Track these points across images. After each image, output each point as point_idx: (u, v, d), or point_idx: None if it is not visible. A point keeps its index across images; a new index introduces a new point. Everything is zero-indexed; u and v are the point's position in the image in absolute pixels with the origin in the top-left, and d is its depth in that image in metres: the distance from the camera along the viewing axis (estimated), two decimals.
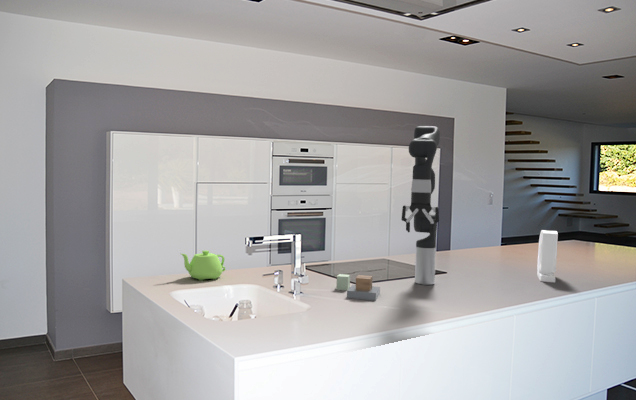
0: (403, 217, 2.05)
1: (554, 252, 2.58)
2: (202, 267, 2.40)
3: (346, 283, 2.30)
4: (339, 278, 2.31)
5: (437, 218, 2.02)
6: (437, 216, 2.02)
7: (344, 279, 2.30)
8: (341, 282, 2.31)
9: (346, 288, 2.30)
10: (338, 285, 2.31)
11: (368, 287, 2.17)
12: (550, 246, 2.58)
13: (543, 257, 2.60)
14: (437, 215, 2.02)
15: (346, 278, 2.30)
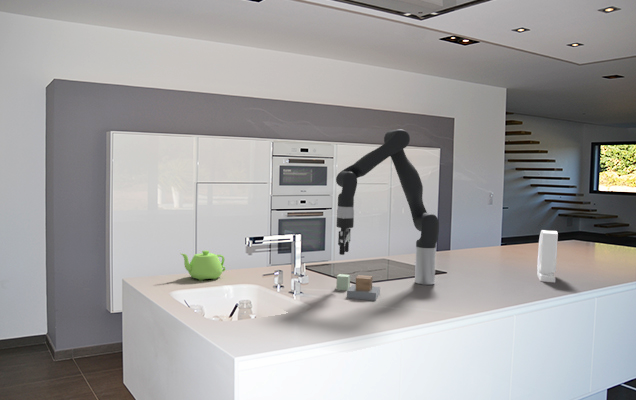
0: (344, 242, 2.25)
1: (554, 252, 2.58)
2: (202, 267, 2.40)
3: (346, 283, 2.30)
4: (339, 278, 2.31)
5: None
6: None
7: (344, 279, 2.30)
8: (341, 282, 2.31)
9: (346, 288, 2.30)
10: (338, 285, 2.31)
11: (368, 287, 2.17)
12: (550, 246, 2.58)
13: (543, 257, 2.60)
14: None
15: (346, 278, 2.30)
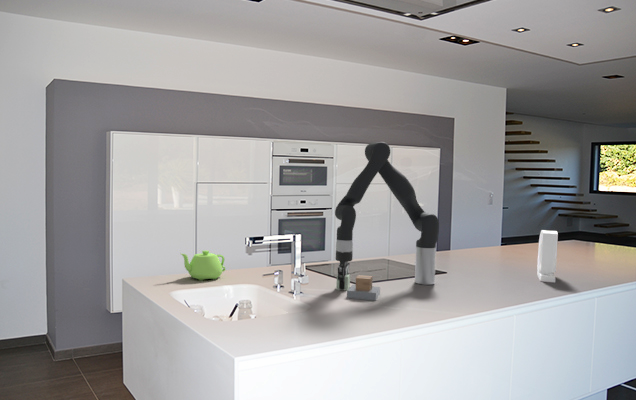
0: (343, 277, 2.28)
1: (554, 252, 2.58)
2: (202, 267, 2.40)
3: (346, 283, 2.30)
4: None
5: (348, 272, 2.38)
6: None
7: None
8: None
9: (346, 288, 2.30)
10: (338, 285, 2.31)
11: (368, 287, 2.17)
12: (550, 246, 2.58)
13: (543, 257, 2.60)
14: None
15: (346, 278, 2.30)
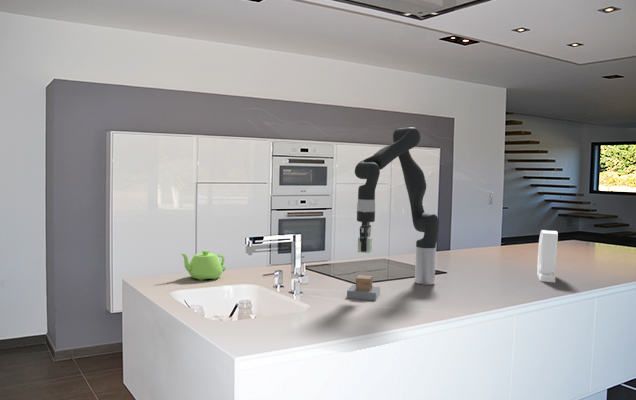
0: (365, 238, 2.14)
1: (554, 252, 2.58)
2: (202, 267, 2.40)
3: (368, 245, 2.17)
4: None
5: None
6: (370, 233, 2.24)
7: None
8: None
9: (368, 250, 2.17)
10: (359, 247, 2.18)
11: (368, 287, 2.17)
12: (550, 246, 2.58)
13: (543, 257, 2.59)
14: (370, 232, 2.24)
15: (368, 240, 2.17)
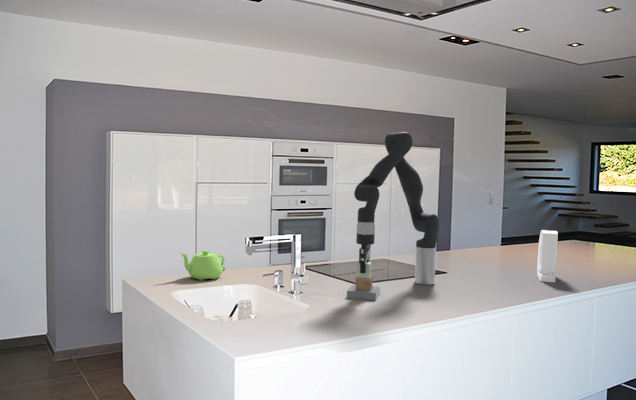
0: (365, 260, 2.14)
1: (554, 252, 2.58)
2: (202, 267, 2.40)
3: (368, 271, 2.17)
4: None
5: None
6: None
7: None
8: None
9: (368, 276, 2.17)
10: (359, 273, 2.18)
11: (368, 287, 2.17)
12: (550, 246, 2.58)
13: (543, 257, 2.59)
14: None
15: (368, 265, 2.17)
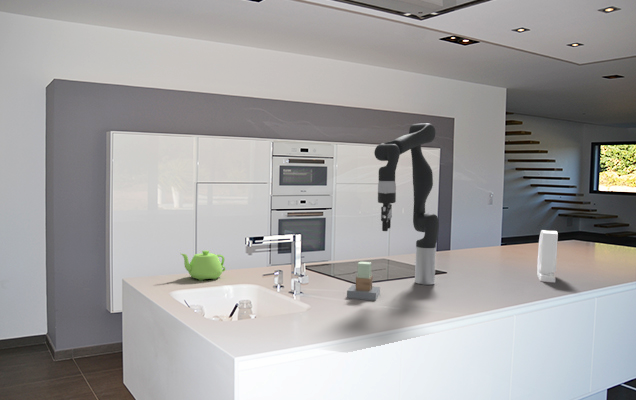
0: (387, 218, 2.16)
1: (554, 252, 2.58)
2: (202, 267, 2.40)
3: (368, 271, 2.17)
4: (360, 265, 2.18)
5: None
6: None
7: (365, 266, 2.17)
8: (362, 270, 2.18)
9: (368, 276, 2.17)
10: (359, 273, 2.18)
11: (368, 287, 2.17)
12: (550, 246, 2.58)
13: (543, 257, 2.59)
14: None
15: (368, 265, 2.17)
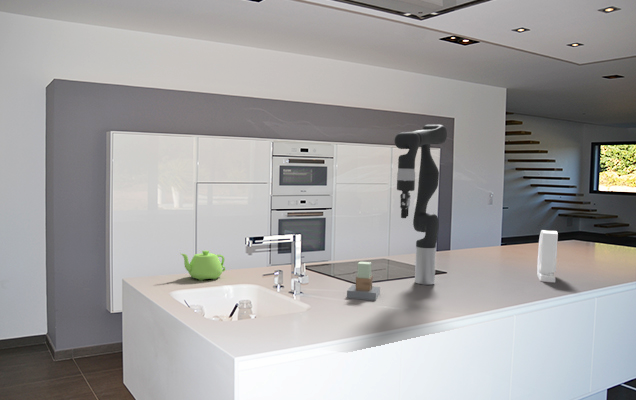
0: (406, 204, 2.18)
1: (554, 252, 2.58)
2: (202, 267, 2.40)
3: (368, 271, 2.17)
4: (360, 265, 2.18)
5: None
6: None
7: (365, 266, 2.17)
8: (362, 270, 2.18)
9: (368, 276, 2.17)
10: (359, 273, 2.18)
11: (368, 287, 2.17)
12: (550, 246, 2.58)
13: (543, 257, 2.59)
14: None
15: (368, 265, 2.17)
